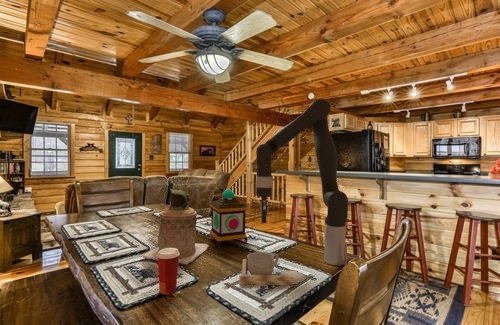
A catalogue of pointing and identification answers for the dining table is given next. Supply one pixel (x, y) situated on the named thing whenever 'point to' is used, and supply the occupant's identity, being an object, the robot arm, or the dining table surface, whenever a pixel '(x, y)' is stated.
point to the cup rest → (264, 278)
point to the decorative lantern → (228, 219)
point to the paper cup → (168, 270)
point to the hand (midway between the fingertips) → (263, 222)
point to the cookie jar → (178, 229)
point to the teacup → (261, 263)
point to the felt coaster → (295, 276)
